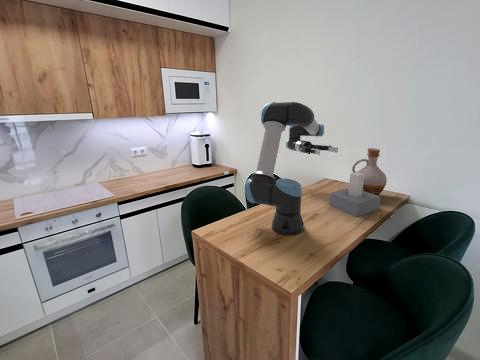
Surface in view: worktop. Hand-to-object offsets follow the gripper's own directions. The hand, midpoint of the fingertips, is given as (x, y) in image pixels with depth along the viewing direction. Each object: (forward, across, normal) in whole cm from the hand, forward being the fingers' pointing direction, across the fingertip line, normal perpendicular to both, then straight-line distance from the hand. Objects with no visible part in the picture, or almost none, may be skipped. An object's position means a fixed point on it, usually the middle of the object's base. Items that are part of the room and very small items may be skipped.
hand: (328, 151), depth 142 cm
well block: (+14, -8, -31) cm, 35 cm away
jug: (+6, -29, -30) cm, 42 cm away
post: (+14, -8, -29) cm, 33 cm away
